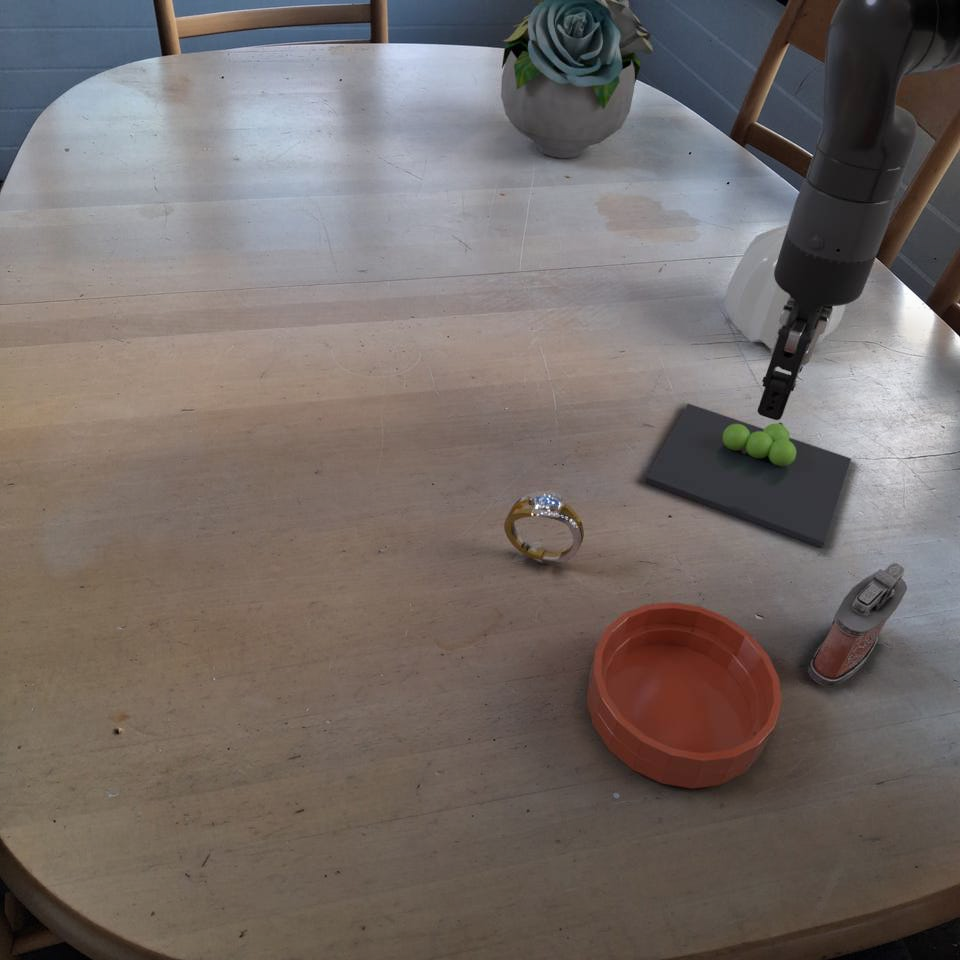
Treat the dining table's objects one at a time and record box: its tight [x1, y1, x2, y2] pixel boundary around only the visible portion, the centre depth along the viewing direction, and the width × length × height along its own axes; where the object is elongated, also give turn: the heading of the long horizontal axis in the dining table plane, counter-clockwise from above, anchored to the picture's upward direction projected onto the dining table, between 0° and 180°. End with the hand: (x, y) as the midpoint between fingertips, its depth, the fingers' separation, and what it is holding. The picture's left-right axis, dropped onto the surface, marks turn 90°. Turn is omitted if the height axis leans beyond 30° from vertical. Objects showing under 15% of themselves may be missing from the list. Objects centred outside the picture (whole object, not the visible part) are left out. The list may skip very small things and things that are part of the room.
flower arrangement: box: [500, 0, 654, 159], centre depth 142 cm, size 25×25×24 cm
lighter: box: [807, 562, 908, 688], centre depth 73 cm, size 8×3×10 cm, turn 133°
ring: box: [503, 490, 585, 565], centre depth 80 cm, size 7×3×8 cm, turn 67°
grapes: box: [723, 422, 796, 466], centre depth 95 cm, size 8×3×6 cm
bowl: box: [586, 601, 783, 789], centre depth 71 cm, size 14×14×4 cm
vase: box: [723, 224, 847, 350], centre depth 109 cm, size 14×14×13 cm
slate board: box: [644, 403, 852, 549], centre depth 93 cm, size 18×14×1 cm
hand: (779, 391), depth 86 cm, fingers open, 8 cm apart
